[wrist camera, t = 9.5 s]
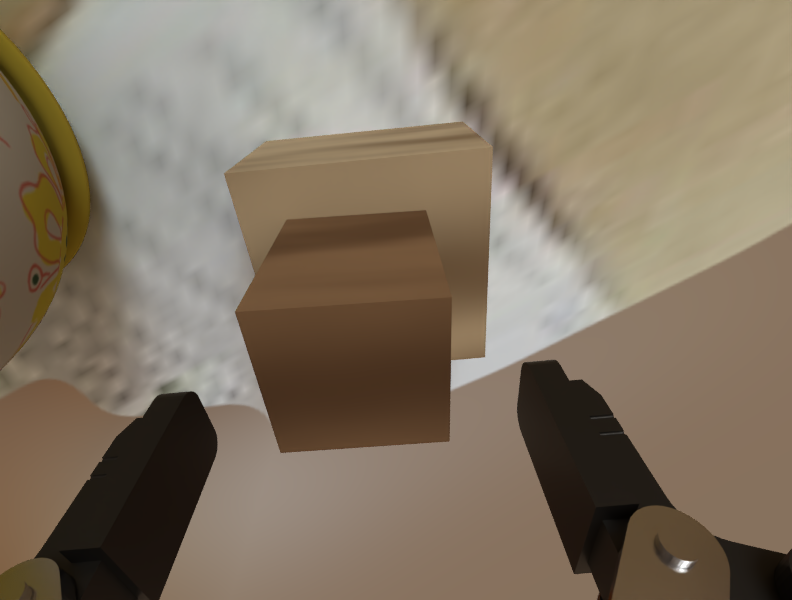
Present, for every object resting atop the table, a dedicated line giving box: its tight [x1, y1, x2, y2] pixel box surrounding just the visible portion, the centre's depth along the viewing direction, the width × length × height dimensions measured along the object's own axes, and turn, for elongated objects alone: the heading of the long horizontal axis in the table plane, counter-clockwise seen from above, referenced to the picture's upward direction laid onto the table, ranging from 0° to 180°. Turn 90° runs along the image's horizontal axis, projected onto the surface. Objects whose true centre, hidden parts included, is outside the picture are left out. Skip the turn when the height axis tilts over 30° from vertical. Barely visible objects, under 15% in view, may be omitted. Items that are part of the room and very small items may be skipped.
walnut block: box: [235, 210, 452, 453], centre depth 13 cm, size 5×5×6 cm
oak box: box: [224, 122, 493, 360], centre depth 18 cm, size 9×9×6 cm
